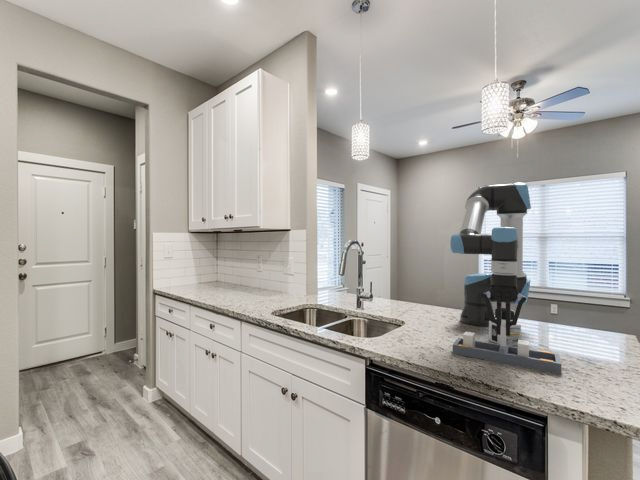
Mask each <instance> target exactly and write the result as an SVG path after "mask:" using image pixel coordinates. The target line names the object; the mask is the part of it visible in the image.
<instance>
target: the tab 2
mask: <svg viewBox="0 0 640 480" xmlns="http://www.w3.org/2000/svg"><path fill="white" fill-rule="evenodd" d="M517 347H518V355H520V356H525V357H529V349H530V341H529V340H525V339H523V340H522V339H521V340H518V345H517Z"/></svg>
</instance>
